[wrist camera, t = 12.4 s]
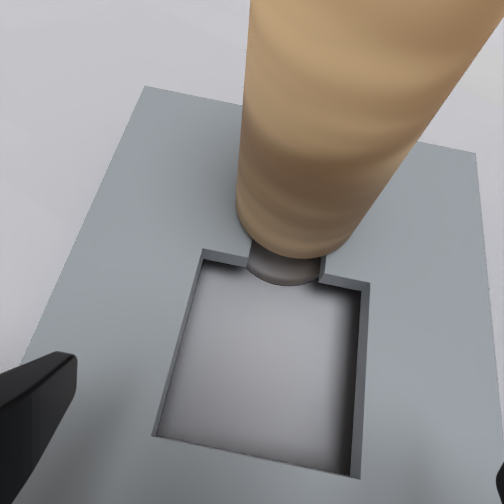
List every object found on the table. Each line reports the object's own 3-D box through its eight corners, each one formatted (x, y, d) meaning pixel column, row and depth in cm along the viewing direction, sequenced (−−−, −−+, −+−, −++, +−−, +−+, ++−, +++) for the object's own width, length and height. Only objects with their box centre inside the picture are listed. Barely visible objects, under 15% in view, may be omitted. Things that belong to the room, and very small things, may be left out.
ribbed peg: (262, 303, 16) (420, -132, 4) (215, 213, 18) (210, -295, 5) (356, 260, 17) (718, -173, 5) (304, 179, 19) (470, -294, 7)
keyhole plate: (471, 672, 12) (532, 731, 9) (-28, 566, 12) (-86, 600, 9) (446, 184, 20) (475, 153, 18) (153, 124, 20) (144, 85, 18)
